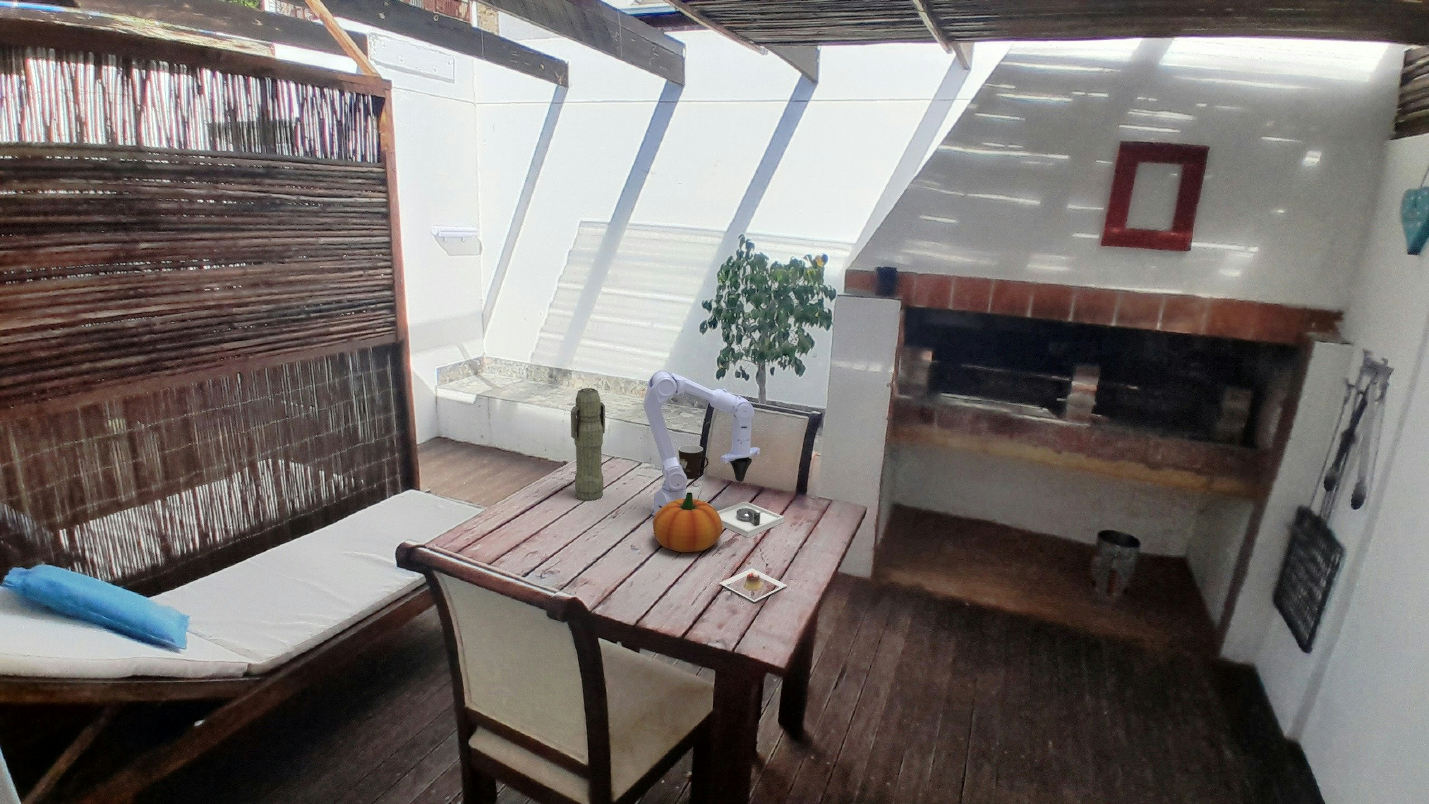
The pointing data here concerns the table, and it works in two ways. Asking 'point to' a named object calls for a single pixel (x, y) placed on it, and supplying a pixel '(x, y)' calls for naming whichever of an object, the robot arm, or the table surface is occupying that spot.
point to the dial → (748, 515)
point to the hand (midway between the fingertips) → (739, 480)
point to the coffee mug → (691, 460)
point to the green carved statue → (588, 443)
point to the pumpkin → (687, 525)
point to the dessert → (753, 582)
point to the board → (748, 527)
